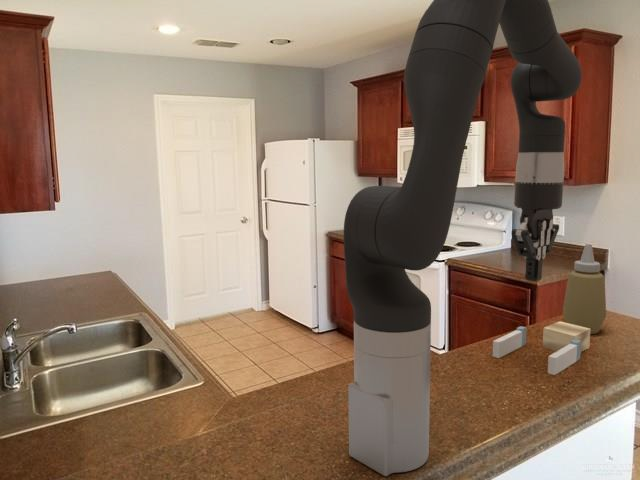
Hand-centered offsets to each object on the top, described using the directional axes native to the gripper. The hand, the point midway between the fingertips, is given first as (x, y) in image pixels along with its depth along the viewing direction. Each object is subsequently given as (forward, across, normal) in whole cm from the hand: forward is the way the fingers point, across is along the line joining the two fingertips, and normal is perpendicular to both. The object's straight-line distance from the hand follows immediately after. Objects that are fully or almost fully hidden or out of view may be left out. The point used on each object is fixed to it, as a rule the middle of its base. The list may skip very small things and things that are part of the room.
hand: (533, 279), depth 91 cm
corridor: (+15, +2, 0) cm, 15 cm away
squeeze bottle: (+15, +23, 0) cm, 28 cm away
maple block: (+15, +11, -2) cm, 19 cm away
